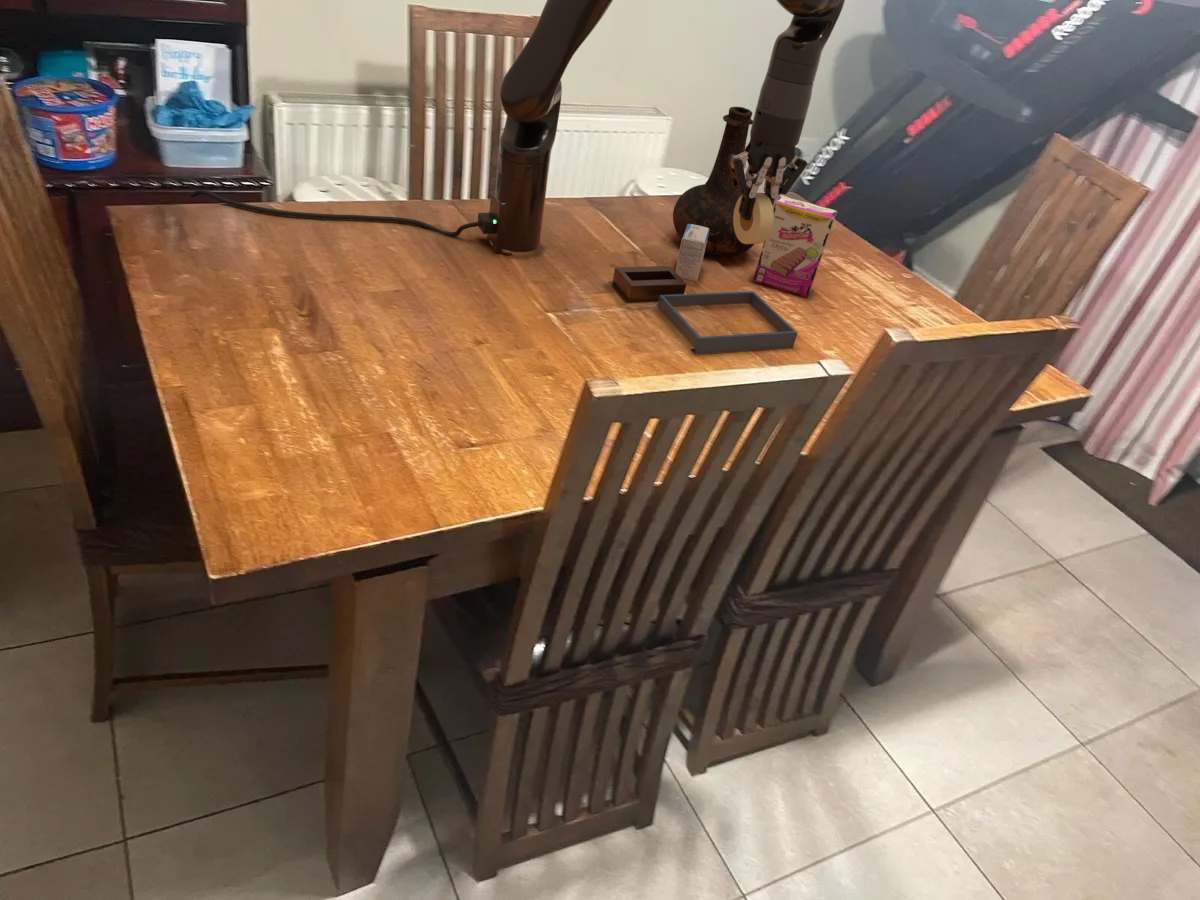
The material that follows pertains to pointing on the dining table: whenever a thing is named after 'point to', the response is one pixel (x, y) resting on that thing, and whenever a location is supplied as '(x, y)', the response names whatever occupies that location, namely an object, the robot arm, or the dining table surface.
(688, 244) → the medicine box
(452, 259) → the dining table surface
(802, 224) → the candy bar box
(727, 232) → the glass bottle
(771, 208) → the tape roll
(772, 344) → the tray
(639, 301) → the holder
